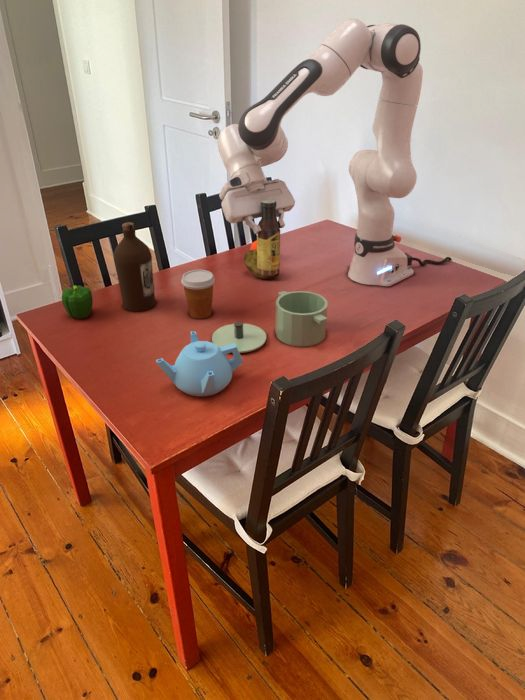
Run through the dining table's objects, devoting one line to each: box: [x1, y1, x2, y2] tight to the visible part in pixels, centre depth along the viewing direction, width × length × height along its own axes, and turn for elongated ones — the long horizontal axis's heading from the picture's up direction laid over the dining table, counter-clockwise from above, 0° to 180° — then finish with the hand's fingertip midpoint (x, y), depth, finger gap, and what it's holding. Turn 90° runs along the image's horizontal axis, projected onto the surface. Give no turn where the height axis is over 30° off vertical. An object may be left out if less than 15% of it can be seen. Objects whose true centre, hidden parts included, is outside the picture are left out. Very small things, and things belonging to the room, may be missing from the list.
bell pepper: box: [61, 285, 93, 320], centre depth 152 cm, size 8×8×10 cm
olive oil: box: [113, 221, 156, 312], centre depth 153 cm, size 11×11×25 cm
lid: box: [211, 321, 267, 354], centre depth 141 cm, size 15×15×5 cm
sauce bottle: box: [256, 199, 281, 276], centre depth 141 cm, size 7×6×20 cm
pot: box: [274, 290, 329, 347], centre depth 142 cm, size 14×19×10 cm
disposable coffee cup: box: [180, 269, 216, 319], centre depth 152 cm, size 10×10×12 cm
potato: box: [243, 249, 281, 280], centre depth 175 cm, size 8×13×8 cm, turn 34°
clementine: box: [249, 239, 257, 251], centre depth 187 cm, size 8×7×7 cm
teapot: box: [155, 330, 244, 398], centre depth 123 cm, size 15×15×11 cm
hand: (270, 229), depth 140 cm, fingers closed on sauce bottle, 6 cm apart
